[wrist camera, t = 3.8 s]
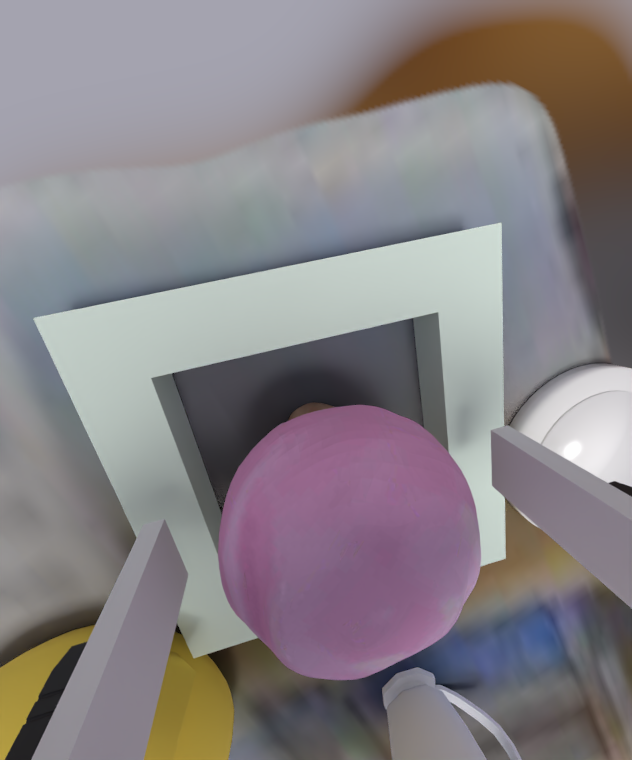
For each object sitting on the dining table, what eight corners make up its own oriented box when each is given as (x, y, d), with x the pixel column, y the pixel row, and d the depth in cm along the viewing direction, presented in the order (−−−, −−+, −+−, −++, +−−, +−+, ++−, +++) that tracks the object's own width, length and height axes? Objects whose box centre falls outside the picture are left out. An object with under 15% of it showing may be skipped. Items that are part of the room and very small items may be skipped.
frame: (201, 612, 19) (193, 658, 17) (71, 311, 14) (32, 318, 11) (478, 527, 21) (505, 558, 19) (464, 231, 15) (501, 222, 13)
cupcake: (210, 490, 17) (152, 744, 8) (268, 338, 15) (284, 425, 6) (357, 525, 19) (451, 754, 10) (422, 396, 18) (610, 527, 8)
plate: (499, 539, 22) (514, 554, 20) (496, 388, 18) (513, 395, 17) (640, 494, 23) (663, 507, 22) (663, 344, 19) (691, 348, 18)
